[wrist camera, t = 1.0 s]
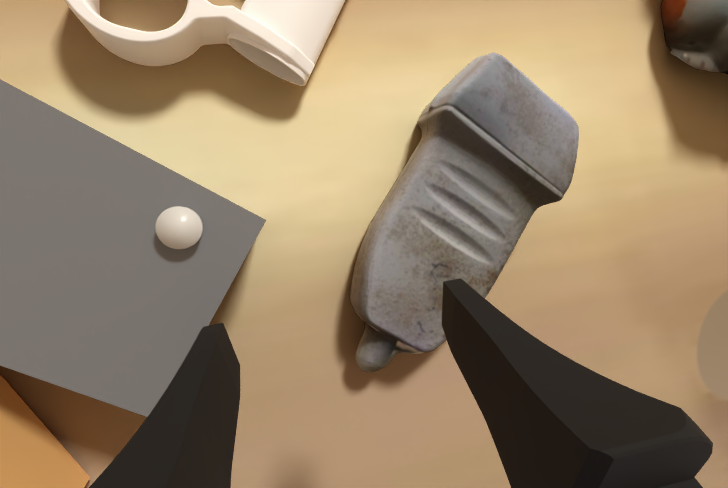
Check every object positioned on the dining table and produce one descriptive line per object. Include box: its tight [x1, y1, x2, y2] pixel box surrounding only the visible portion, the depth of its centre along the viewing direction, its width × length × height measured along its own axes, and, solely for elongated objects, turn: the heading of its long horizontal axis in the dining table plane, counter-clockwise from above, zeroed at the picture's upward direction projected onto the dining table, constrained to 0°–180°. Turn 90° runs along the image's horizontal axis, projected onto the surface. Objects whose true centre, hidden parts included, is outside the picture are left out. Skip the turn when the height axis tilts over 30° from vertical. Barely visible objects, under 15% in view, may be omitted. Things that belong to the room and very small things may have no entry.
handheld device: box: [350, 53, 579, 372], centre depth 25 cm, size 10×20×5 cm, turn 149°
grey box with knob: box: [0, 80, 266, 417], centre depth 19 cm, size 10×13×6 cm
